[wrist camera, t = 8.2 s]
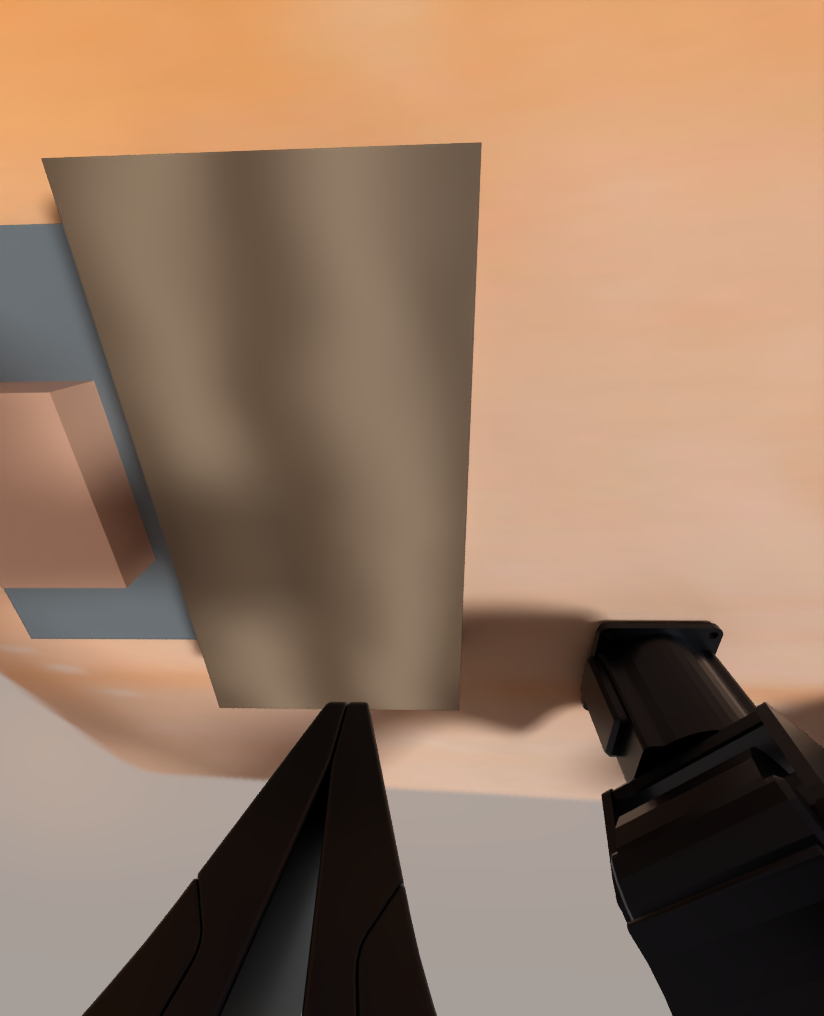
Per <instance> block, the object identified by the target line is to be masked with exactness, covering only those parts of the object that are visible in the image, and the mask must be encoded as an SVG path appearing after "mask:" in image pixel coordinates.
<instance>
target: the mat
mask: <svg viewBox="0 0 824 1016" xmlns="http://www.w3.org/2000/svg"><path fill="white" fill-rule="evenodd" d="M35 381H94V382H95V385H96V388H97V391H98V394H99V397H100V400H101V402H102V405H103V408H104V411H105V414H106V417H107V420H108V423H109V426H110V429H111V431H112V434H113V437H114V440H115V443H116V446H117V449H118V452H119V455H120V458H121V460H122V463H123V466H124V469H125V472H126V475H127V478H128V481H129V484H130V487H131V490H132V492H133V495H134V498H135V501H136V504H137V507H138V510H139V513H140V516H141V519H142V521H143V524H144V527H145V530H146V533H147V536H148V539H149V542H150V545H151V548H152V550H153V553H154V556H155V559H156V560H155V561H154V562H153V563H152V564H151V565H150V566H149V567H148V568H147V569H146V570H145V571H143V572H142V573H141V574H140V575H139V576H138V577H137V578H136V579H135V580H134V581H133V582H132V583H131V584H130V585H129V586H128V587H127V588H4V590H5V592H6V594H7V595H8V597H9V599H10V601H11V603H12V604H13V606H14V608H15V610H16V612H17V613H18V615H19V617H20V619H21V621H22V623H23V624H24V626H25V628H26V630H27V632H28V633H29V635H30V637H31V639H197V636H196V633H195V630H194V627H193V624H192V621H191V618H190V615H189V612H188V609H187V606H186V603H185V599H184V596H183V593H182V590H181V587H180V584H179V581H178V578H177V575H176V572H175V569H174V566H173V562H172V559H171V556H170V553H169V550H168V547H167V544H166V541H165V538H164V535H163V532H162V529H161V526H160V522H159V519H158V516H157V513H156V510H155V507H154V504H153V501H152V498H151V495H150V492H149V489H148V485H147V482H146V479H145V476H144V473H143V470H142V467H141V464H140V461H139V458H138V455H137V452H136V449H135V445H134V442H133V439H132V436H131V433H130V430H129V427H128V424H127V421H126V418H125V415H124V412H123V408H122V405H121V402H120V399H119V396H118V393H117V390H116V387H115V384H114V381H113V378H112V375H111V372H110V368H109V365H108V362H107V359H106V356H105V353H104V350H103V347H102V344H101V341H100V338H99V335H98V331H97V328H96V325H95V322H94V319H93V316H92V313H91V310H90V307H89V304H88V301H87V298H86V295H85V291H84V288H83V285H82V282H81V279H80V276H79V273H78V270H77V267H76V264H75V261H74V258H73V254H72V251H71V248H70V245H69V242H68V239H67V236H66V233H65V230H64V227H63V224H31V225H0V382H35Z"/></svg>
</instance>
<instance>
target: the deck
mask: <svg viewBox="0 0 824 1016" xmlns="http://www.w3.org/2000/svg"><path fill="white" fill-rule="evenodd" d="M481 143H482V142H481ZM481 143H453V144H426V145H398V146H370V147H342V148H314V149H287V150H259V151H231V152H203V153H175V154H148V155H120V156H92V157H64V158H41V159H42V162H43V165H44V168H45V171H46V174H47V177H48V181H49V184H50V187H51V190H52V193H53V196H54V199H55V202H56V205H57V208H58V211H59V214H60V218H61V221H62V224H63V227H64V230H65V233H66V236H67V239H68V242H69V245H70V248H71V251H72V254H73V258H74V261H75V264H76V267H77V270H78V273H79V276H80V279H81V282H82V285H83V288H84V291H85V295H86V298H87V301H88V304H89V307H90V310H91V313H92V316H93V319H94V322H95V325H96V328H97V331H98V335H99V338H100V341H101V344H102V347H103V350H104V353H105V356H106V359H107V362H108V365H109V368H110V372H111V375H112V378H113V381H114V384H115V387H116V390H117V393H118V396H119V399H120V402H121V405H122V408H123V412H124V415H125V418H126V421H127V424H128V427H129V430H130V433H131V436H132V439H133V442H134V445H135V449H136V452H137V455H138V458H139V461H140V464H141V467H142V470H143V473H144V476H145V479H146V482H147V485H148V489H149V492H150V495H151V498H152V501H153V504H154V507H155V510H156V513H157V516H158V519H159V522H160V526H161V529H162V532H163V535H164V538H165V541H166V544H167V547H168V550H169V553H170V556H171V559H172V562H173V566H174V569H175V572H176V575H177V578H178V581H179V584H180V587H181V590H182V593H183V596H184V599H185V603H186V606H187V609H188V612H189V615H190V618H191V621H192V624H193V627H194V630H195V633H196V636H197V639H198V643H199V646H200V649H201V652H202V655H203V658H204V661H205V664H206V667H207V670H208V673H209V676H210V680H211V683H212V686H213V689H214V692H215V695H216V698H217V701H218V704H219V707H220V708H283V709H323V708H324V706H325V705H326V704H327V703H329V702H346V703H348V704H349V703H350V702H367V703H368V705H369V709H374V710H459V689H460V664H461V639H462V615H463V590H464V565H465V540H466V515H467V491H468V466H469V441H470V416H471V391H472V366H473V342H474V317H475V292H476V267H477V242H478V218H479V193H480V168H481Z"/></svg>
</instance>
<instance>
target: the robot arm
mask: <svg viewBox="0 0 824 1016" xmlns="http://www.w3.org/2000/svg"><path fill="white" fill-rule="evenodd" d="M609 631H610V632H609ZM606 632H609V633H606ZM722 637H723V632H722V630H721V629H720V628H719V627H718V625H716V624H713V623H604V624H602V625H600V626H599V627H598V628H597V631H596V635H595V640H594V644H593V649H592V653H591V656H590V657H589V658H588V659H587V662H586V666H585V671H584V675H583V680H582V684H581V692H582V698H581V702H582V705H583V707H584V709H585V710H588V711H589V713H590V716H591V718H592V721H593V724H594V726H595V729H596V731H597V734H598V736H599V739H600V742H601V744H602V747H603V749H604V752H605V753H606V754H607V755H608V756H610V757H617V760H618V762H619V765H620V767H621V770H622V772H623V774H624V777H625V779H626V782H627V783H625V784H623V785H622V786H620V787H618V788H616V789H614V790H613V789H610V790H608V791H606V792H604V793H603V794H602V803H603V810H604V817H605V825H606V833H607V840H608V848H609V856H610V863H611V871H612V879H613V884H614V889H615V893H616V900H617V903H618V905H619V907H620V909H621V911H622V912H623V915H624V917H625V920H626V922H627V928H628V931H629V933H630V935H631V936H632V938H633V940H634V941H635V943H636V944H637V946H638V948H639V949H640V951H641V953H642V954H643V956H644V958H645V959H646V961H647V963H648V964H649V966H650V968H651V970H652V972H653V974H654V976H655V978H656V980H657V982H658V984H659V986H660V988H661V990H662V992H663V994H664V996H665V998H666V1001H667V1004H668V1006H669V1008H670V1011H671V1013H672V1015H673V1016H824V748H823V747H822V746H820V745H819V744H818V743H817V742H815V741H814V740H813V739H812V738H810V737H809V736H808V735H807V734H805V733H804V732H803V731H802V730H800V729H799V728H798V727H797V726H795V725H794V724H793V723H792V722H790V721H789V720H788V719H786V718H785V717H784V716H783V715H781V714H780V713H779V712H778V711H776V710H775V709H774V708H773V707H771V706H770V705H769V704H768V703H766V702H764V703H762V704H761V705H759V706H757V707H756V706H755V705H754V703H753V702H752V701H751V700H750V698H749V697H748V696H747V694H746V693H745V692H744V691H743V689H742V688H741V687H740V686H739V684H738V683H737V682H736V681H735V679H734V678H733V677H732V676H731V674H730V673H729V672H728V671H727V669H726V668H725V667H724V666H723V664H722V663H721V662H720V660H719V659H718V658H717V657H716V655H715V654H716V652H717V649H718V647H719V644H720V642H721V639H722ZM301 1013H302V1016H437V1014H436V1011H435V1008H434V1005H433V1001H432V998H431V994H430V990H429V987H428V983H427V980H426V976H425V973H424V969H423V966H422V962H421V959H420V955H419V951H418V946H417V942H416V937H415V933H414V929H413V924H412V920H411V915H410V911H409V906H408V900H407V895H406V890H405V887H404V882H403V876H402V871H401V866H400V861H399V856H398V851H397V846H396V841H395V836H394V831H393V826H392V820H391V815H390V810H389V806H388V800H387V795H386V790H385V785H384V780H383V775H382V770H381V765H380V760H379V754H378V749H377V744H376V739H375V734H374V729H373V724H372V719H371V714H370V709H369V705H368V703H367V702H350V703H349V704H348V703H346V702H329V703H327V704H326V705H325V706H324V708H323V709H322V710H321V712H320V713H319V714H318V716H317V717H316V718H315V720H314V721H313V722H312V724H311V725H310V726H309V728H308V729H307V730H306V732H305V733H304V734H303V736H302V737H301V738H300V739H299V741H298V742H297V743H296V745H295V746H294V747H293V749H292V750H291V751H290V753H289V754H288V755H287V757H286V758H285V759H284V761H283V762H282V763H281V765H280V766H279V767H278V769H277V770H276V771H275V773H274V774H273V775H272V777H271V778H270V779H269V780H268V782H267V783H266V785H265V786H264V787H263V788H262V790H261V791H260V792H259V794H258V795H257V796H256V798H255V799H254V800H253V802H252V803H251V804H250V806H249V807H248V808H247V810H246V811H245V812H244V814H243V815H242V816H241V818H240V819H239V820H238V822H237V823H236V824H235V825H234V827H233V828H232V829H231V831H230V832H229V833H228V835H227V836H226V837H225V839H224V840H223V842H222V843H221V844H220V845H219V847H218V848H217V849H216V851H215V852H214V853H213V855H212V856H211V857H210V859H209V860H208V861H207V863H206V864H205V865H204V866H203V868H202V869H201V870H200V872H199V873H198V879H194V880H193V881H192V882H191V883H190V885H189V886H188V887H187V889H186V890H185V891H184V893H183V894H182V895H181V897H180V898H179V899H178V901H177V902H176V903H175V905H174V906H173V907H172V908H171V910H170V911H169V912H168V914H167V915H166V916H165V917H164V919H163V920H162V921H161V923H160V924H159V925H158V926H157V927H156V929H155V930H154V931H153V933H152V934H151V935H150V936H149V938H148V939H147V940H146V942H145V943H144V944H143V945H142V946H141V948H140V949H139V950H138V951H137V952H136V953H135V955H134V956H133V957H132V958H131V959H130V960H129V962H128V963H127V964H126V965H125V966H124V967H123V969H122V970H121V971H120V972H119V973H118V974H117V976H116V977H115V978H114V979H113V980H112V982H111V983H110V984H109V985H108V986H107V987H106V988H105V990H104V991H103V992H102V993H101V994H100V995H99V996H98V998H97V999H96V1000H95V1001H94V1002H93V1004H91V1006H90V1007H89V1008H88V1009H87V1010H86V1011H85V1012H84V1014H83V1015H82V1016H301Z"/></svg>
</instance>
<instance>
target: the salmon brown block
mask: <svg viewBox="0 0 824 1016" xmlns="http://www.w3.org/2000/svg"><path fill="white" fill-rule="evenodd" d="M155 560H156V559H155V556H154V553H153V550H152V548H151V545H150V542H149V539H148V536H147V533H146V530H145V527H144V524H143V521H142V519H141V516H140V513H139V510H138V507H137V504H136V501H135V498H134V495H133V492H132V490H131V487H130V484H129V481H128V478H127V475H126V472H125V469H124V466H123V463H122V460H121V458H120V455H119V452H118V449H117V446H116V443H115V440H114V437H113V434H112V431H111V429H110V426H109V423H108V420H107V417H106V414H105V411H104V408H103V405H102V402H101V400H100V397H99V394H98V391H97V388H96V385H95V382H94V381H35V382H0V584H1V586H2V588H127V587H128V586H129V585H130V584H131V583H132V582H133V581H134V580H135V579H136V578H137V577H138V576H139V575H140V574H141V573H142V572H143V571H145V570H146V569H147V568H148V567H149V566H150V565H151V564H152V563H153V562H154V561H155Z"/></svg>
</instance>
